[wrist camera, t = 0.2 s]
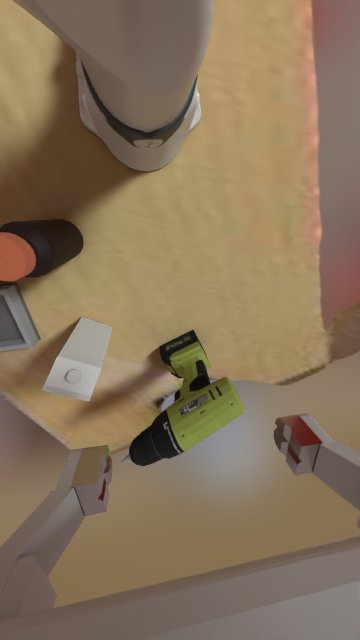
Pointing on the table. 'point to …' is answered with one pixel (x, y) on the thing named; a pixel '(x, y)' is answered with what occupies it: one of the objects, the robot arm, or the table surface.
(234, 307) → the table surface
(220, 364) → the table surface
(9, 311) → the tray
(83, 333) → the milk carton
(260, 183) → the table surface
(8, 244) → the bottle
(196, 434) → the cordless drill
